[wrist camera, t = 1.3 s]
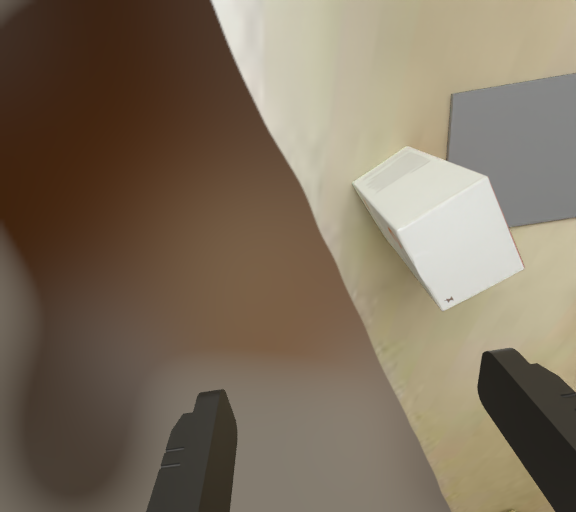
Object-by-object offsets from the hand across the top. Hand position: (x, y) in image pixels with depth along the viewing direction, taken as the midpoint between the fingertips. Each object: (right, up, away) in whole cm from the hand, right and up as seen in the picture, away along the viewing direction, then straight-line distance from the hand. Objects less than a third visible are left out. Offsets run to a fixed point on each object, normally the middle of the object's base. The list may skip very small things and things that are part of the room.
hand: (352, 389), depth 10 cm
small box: (+9, +10, +23) cm, 27 cm away
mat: (+21, +14, +21) cm, 33 cm away
